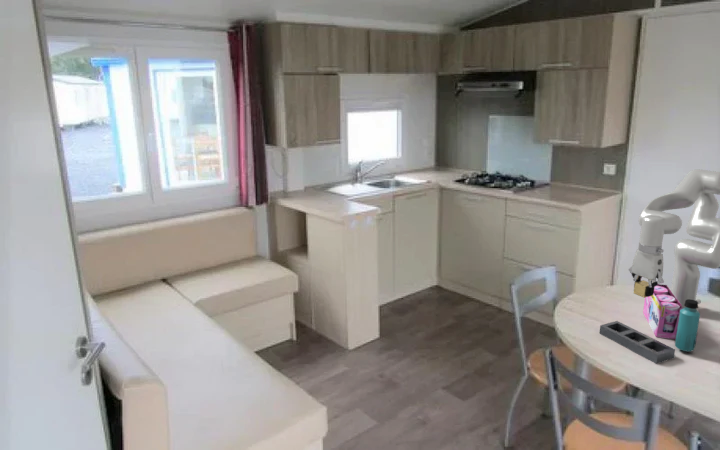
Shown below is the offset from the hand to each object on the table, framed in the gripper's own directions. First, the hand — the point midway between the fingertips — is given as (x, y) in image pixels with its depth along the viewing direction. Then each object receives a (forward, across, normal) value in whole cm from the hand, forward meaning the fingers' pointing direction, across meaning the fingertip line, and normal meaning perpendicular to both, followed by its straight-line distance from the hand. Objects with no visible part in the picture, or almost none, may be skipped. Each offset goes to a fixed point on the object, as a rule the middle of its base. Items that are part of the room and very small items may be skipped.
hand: (643, 292), depth 201 cm
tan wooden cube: (+1, 0, 0) cm, 1 cm away
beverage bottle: (+18, -16, -4) cm, 24 cm away
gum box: (+18, +1, -14) cm, 23 cm away
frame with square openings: (+17, -6, +8) cm, 20 cm away
